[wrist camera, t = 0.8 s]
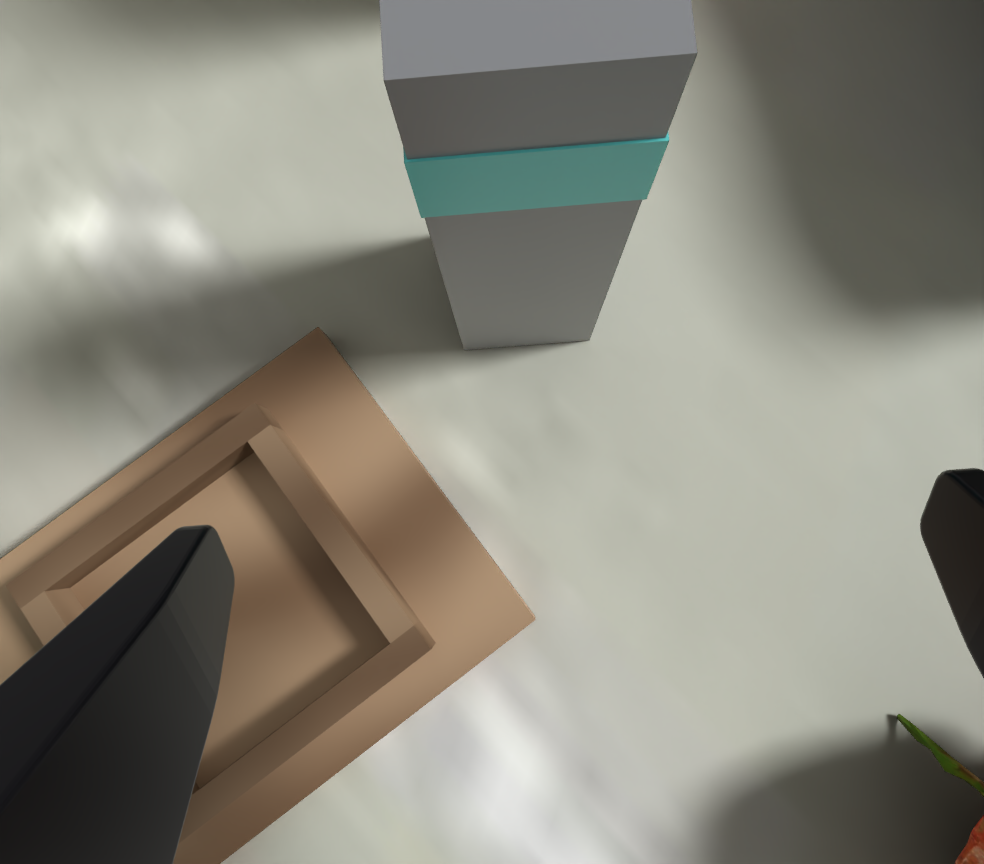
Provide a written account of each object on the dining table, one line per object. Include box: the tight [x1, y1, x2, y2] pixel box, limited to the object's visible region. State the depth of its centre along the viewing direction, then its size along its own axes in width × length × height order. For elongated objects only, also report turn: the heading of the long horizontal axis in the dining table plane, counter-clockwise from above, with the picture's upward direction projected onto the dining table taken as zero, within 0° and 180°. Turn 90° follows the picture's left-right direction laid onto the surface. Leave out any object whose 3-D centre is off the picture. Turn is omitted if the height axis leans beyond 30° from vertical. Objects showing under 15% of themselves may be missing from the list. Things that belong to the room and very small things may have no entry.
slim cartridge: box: [379, 0, 697, 350], centre depth 16 cm, size 4×4×14 cm
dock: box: [0, 327, 535, 864], centre depth 19 cm, size 11×18×7 cm, turn 127°
